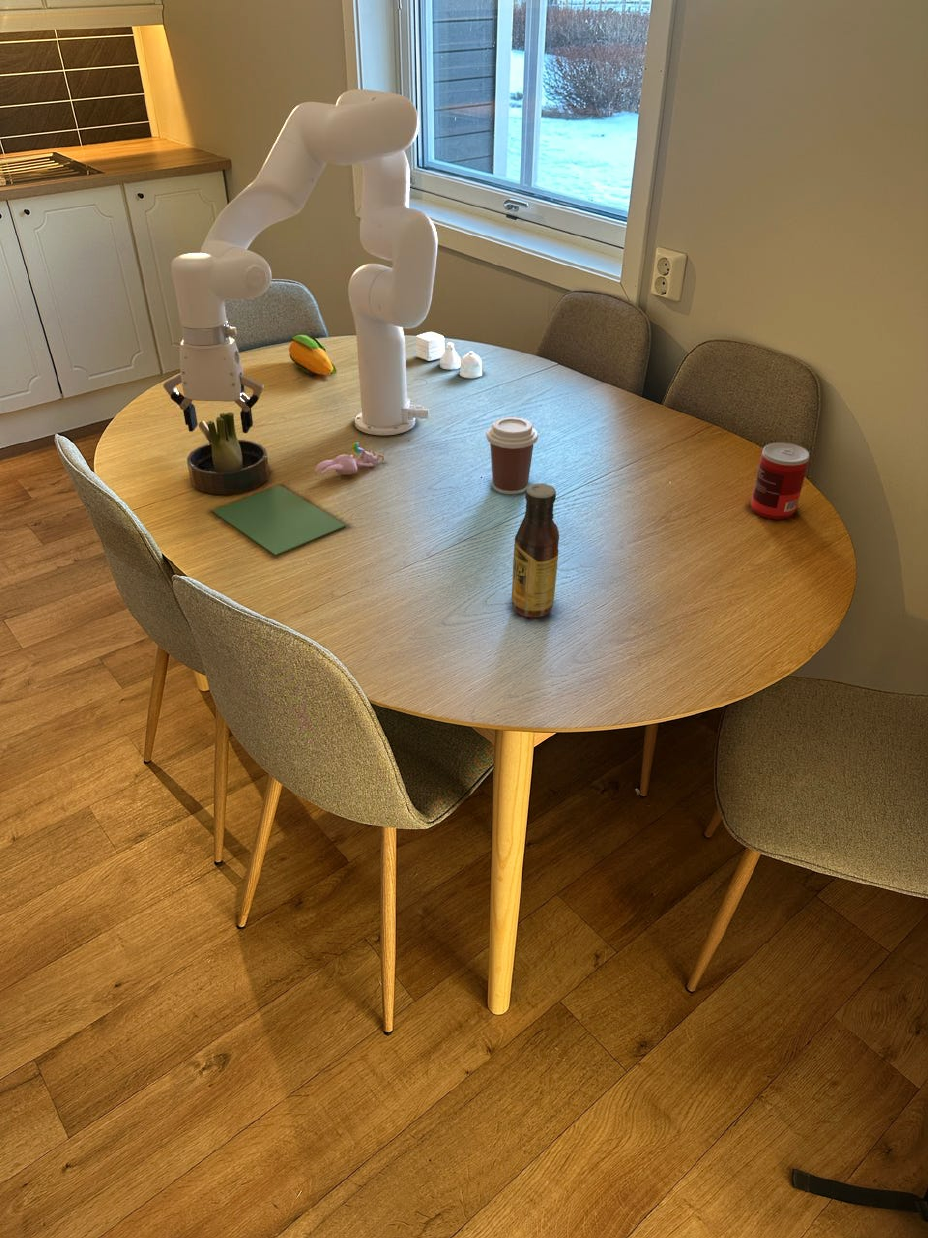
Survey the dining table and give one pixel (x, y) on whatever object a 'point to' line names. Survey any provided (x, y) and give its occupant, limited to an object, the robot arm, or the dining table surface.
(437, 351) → the container set
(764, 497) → the canned food
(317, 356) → the corn
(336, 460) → the rabbit figure
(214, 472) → the pan
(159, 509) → the dining table surface
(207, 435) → the pan handle
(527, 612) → the sauce bottle
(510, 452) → the coffee cup
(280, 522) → the cloth
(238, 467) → the fennel bulb
